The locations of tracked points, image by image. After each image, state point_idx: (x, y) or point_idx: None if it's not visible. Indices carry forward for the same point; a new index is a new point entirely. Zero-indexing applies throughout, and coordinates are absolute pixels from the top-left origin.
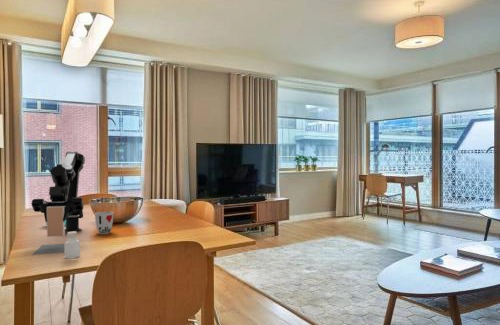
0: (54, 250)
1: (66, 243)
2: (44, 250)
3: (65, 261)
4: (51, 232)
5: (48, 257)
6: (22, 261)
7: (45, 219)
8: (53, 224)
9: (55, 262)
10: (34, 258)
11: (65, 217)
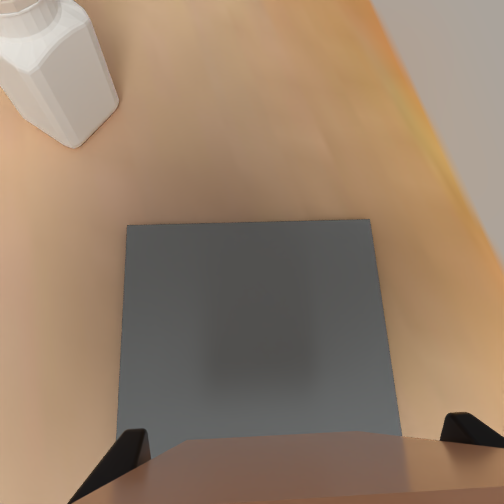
0: (236, 302)
1: (71, 2)
2: (318, 320)
3: (106, 56)
4: (322, 434)
5: (234, 158)
6: (366, 111)
7: (486, 431)
8: (317, 441)
9: (161, 51)
10: (319, 156)
11: (89, 490)
